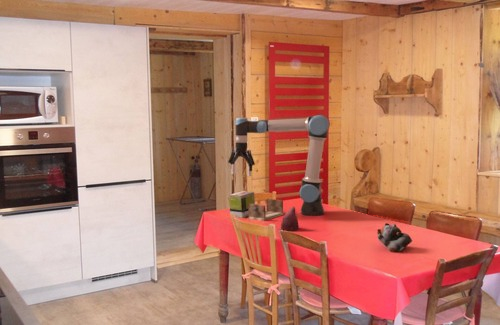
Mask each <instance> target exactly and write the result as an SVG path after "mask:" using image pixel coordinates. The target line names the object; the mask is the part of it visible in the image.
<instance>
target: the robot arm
mask: <svg viewBox="0 0 500 325" xmlns="http://www.w3.org/2000/svg"><path fill="white" fill-rule="evenodd" d="M234 125H235V148H232V150H231V153H230V157H229V159H228V164H230V169H231V175H235V174H236V164H235V163H236V161H237V160H238V158H240V157H242V158H243V159H245V161H246V163H247V164H248V166H247V177H251V176H252V172H253V166H255V165H256V163H255V160H254V158H253V155H252V150H251V149H249V150H248V134H266V133H268V132H289V131H290V132H292V131H295V132H296V131H297V132H298V131H307V132H308V134H307V137H308V138H309V143H308V144H309V145H308V151H307V160H306V165H305V166H306V168H305V172H304V173H305V174H304V177H303V178H302V179H301V187H300V189H299V197H300V198H301V200H302V201H303V203H302V205H301V208H300V214H301V215H304V216H311V217H312V216H313V217H315V216H322V215H324V214H325V209H324V205H323V202H322V184H323V183H322V179H320V172H321V164H322V157H323V151H324V144H325V141H326V140H327V139H328V132H329V129H330V125H331V123H330V120H329V118H328V116H326V115H323V114H317V115H313V116H312V115H311V116H307V117H305V118H287V119H286V118H285V119H260V120H248V118H247V117H236V119H235V124H234Z"/></svg>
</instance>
